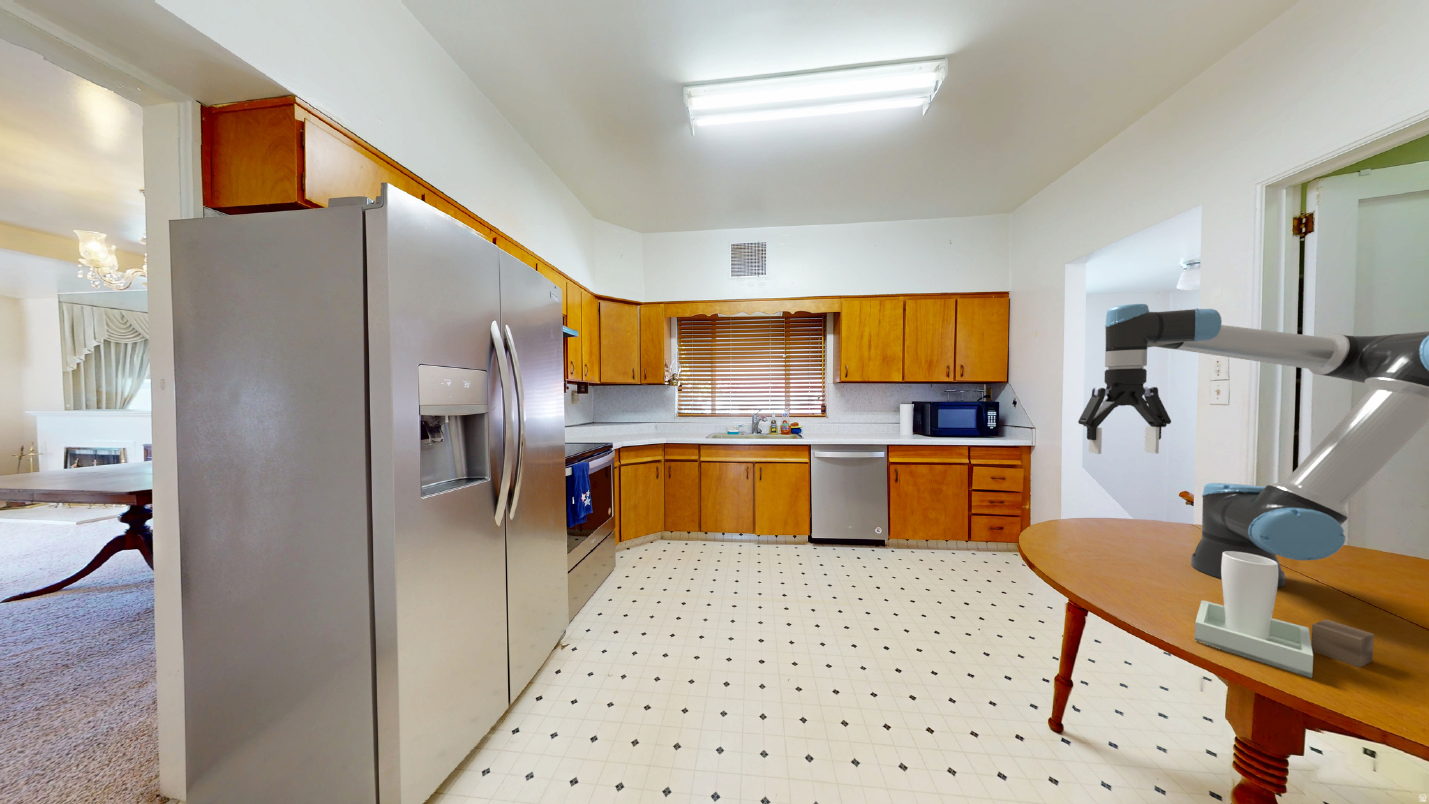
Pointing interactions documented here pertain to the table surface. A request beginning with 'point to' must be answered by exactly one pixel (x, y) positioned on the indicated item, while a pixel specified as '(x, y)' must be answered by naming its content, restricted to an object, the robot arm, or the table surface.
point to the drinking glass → (1249, 592)
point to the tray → (1257, 641)
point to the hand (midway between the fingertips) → (1123, 453)
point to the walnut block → (1342, 643)
